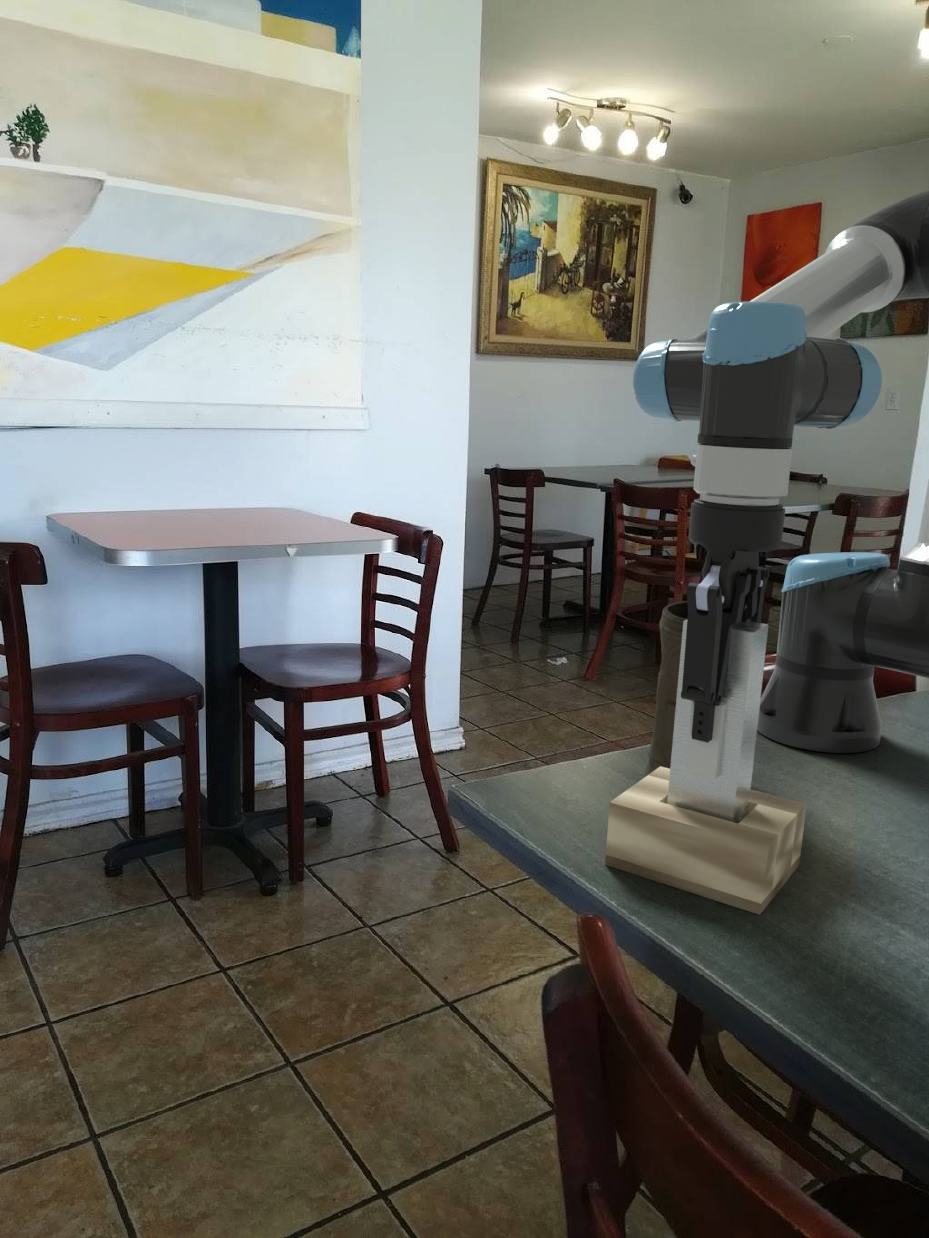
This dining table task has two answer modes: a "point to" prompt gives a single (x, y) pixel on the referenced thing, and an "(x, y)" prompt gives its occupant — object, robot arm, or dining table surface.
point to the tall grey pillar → (739, 732)
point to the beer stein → (667, 685)
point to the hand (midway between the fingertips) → (711, 765)
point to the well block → (706, 844)
